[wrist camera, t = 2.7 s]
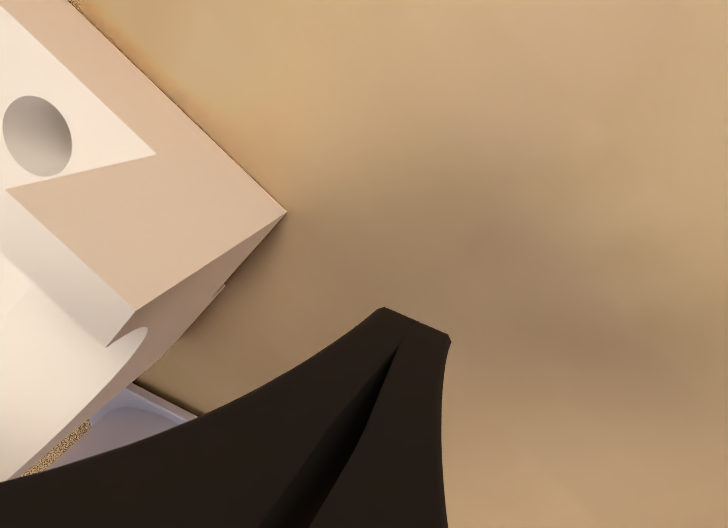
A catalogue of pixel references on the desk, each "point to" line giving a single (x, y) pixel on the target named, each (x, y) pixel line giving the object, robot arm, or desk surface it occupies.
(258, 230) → the bracket
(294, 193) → the desk surface
